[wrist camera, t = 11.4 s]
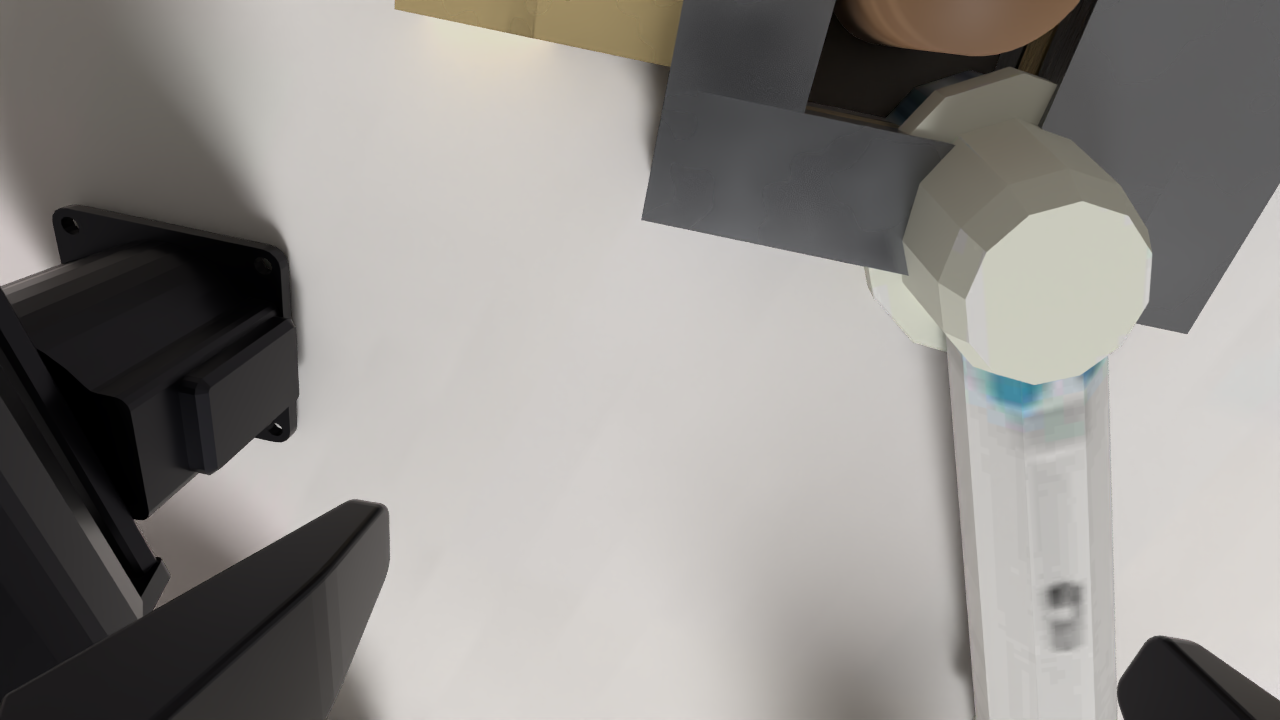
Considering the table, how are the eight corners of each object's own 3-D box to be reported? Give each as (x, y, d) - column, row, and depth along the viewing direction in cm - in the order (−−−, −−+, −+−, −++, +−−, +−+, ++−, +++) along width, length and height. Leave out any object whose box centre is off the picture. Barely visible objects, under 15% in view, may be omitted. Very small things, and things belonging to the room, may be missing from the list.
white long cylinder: (991, 880, 23) (897, 200, 10) (931, 691, 28) (822, 98, 16) (1164, 869, 22) (1303, 87, 9) (1067, 674, 27) (1067, 18, 15)
